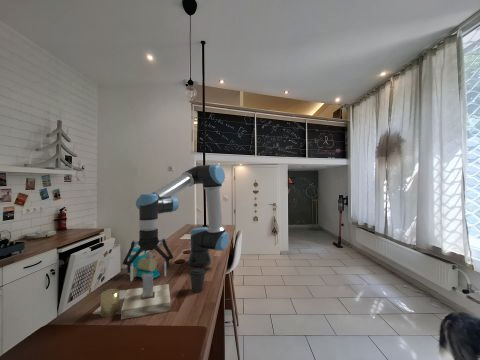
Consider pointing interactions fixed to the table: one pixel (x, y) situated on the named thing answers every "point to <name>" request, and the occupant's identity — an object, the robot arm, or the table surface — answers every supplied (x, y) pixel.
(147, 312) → the socket board
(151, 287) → the square bit
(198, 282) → the coffee cup
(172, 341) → the table surface
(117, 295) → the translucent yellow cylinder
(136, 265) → the toy train
